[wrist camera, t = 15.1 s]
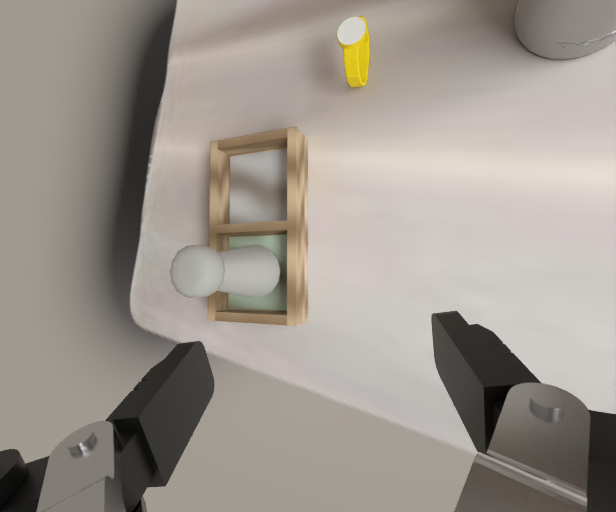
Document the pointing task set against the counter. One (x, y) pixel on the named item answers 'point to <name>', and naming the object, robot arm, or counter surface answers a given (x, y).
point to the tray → (262, 220)
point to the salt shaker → (225, 271)
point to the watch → (355, 49)
